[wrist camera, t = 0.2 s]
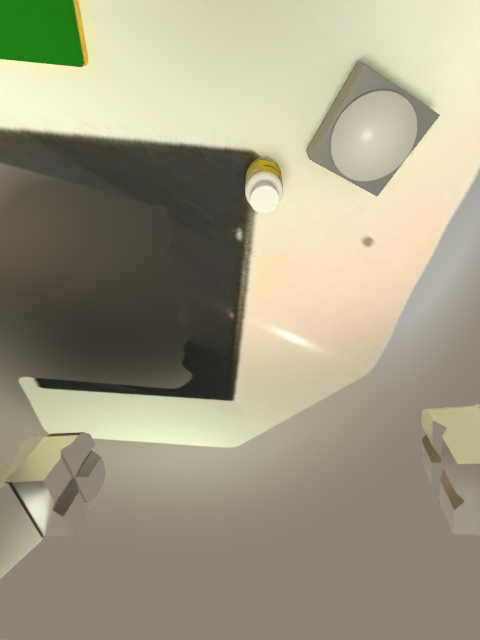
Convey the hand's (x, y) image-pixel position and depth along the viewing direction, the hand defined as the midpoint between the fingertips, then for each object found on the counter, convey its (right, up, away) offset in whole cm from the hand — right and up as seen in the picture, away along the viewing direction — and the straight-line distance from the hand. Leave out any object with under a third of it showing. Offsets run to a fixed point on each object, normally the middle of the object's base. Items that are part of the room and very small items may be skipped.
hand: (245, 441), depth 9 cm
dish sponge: (-27, +40, +36) cm, 60 cm away
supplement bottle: (+3, +26, +47) cm, 53 cm away
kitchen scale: (+18, +30, +42) cm, 55 cm away
